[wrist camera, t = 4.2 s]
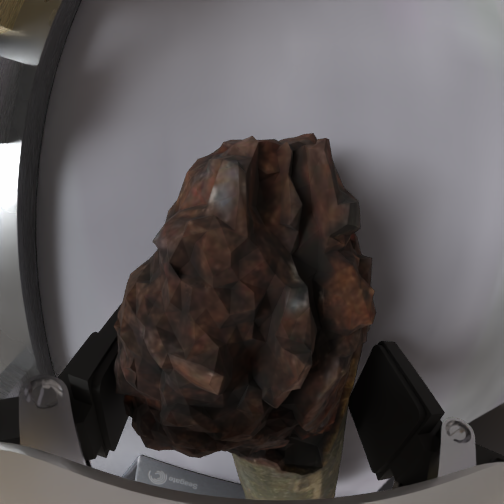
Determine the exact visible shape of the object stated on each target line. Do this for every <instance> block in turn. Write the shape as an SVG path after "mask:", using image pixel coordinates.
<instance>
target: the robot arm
mask: <svg viewBox="0 0 504 504" xmlns="http://www.w3.org/2000/svg"><path fill="white" fill-rule="evenodd" d="M121 305H122V304H121ZM121 305H120V306H119V307H118V309H117V310H116V311H115V312H114V314H113V315H112V316H111V317H110V319H109V320H108V321H107V323H106V324H105V325H104V326H103V328H102V329H101V330H100V331H99V333H97V332H93V333H92V334H91V335H90V336H89V338H88V339H87V340H86V342H85V343H84V344H83V345H82V347H81V348H80V349H79V350H78V352H77V353H76V354H75V356H74V357H73V358H72V360H71V361H70V362H69V364H68V365H67V366H66V368H65V369H64V370H63V372H62V373H61V374H60V376H59V377H58V378H57V377H55V376H52V375H46V374H41V375H35V376H32V377H30V378H28V379H27V380H26V381H24V382H23V384H22V385H21V387H20V391H19V396H18V397H12V398H6V399H0V504H504V456H502V455H501V454H498V453H496V452H494V451H491V450H489V449H486V448H484V447H482V446H480V445H477V444H475V436H474V432H473V430H472V428H471V427H470V425H468V423H466V422H465V421H463V420H461V419H459V418H454V417H452V418H447V419H445V420H444V421H443V423H442V421H441V420H440V419H441V417H442V416H443V415H444V413H445V412H444V411H443V409H442V408H441V406H440V405H439V403H438V402H437V400H436V399H435V398H434V396H433V395H432V393H431V392H430V390H429V389H428V387H427V386H426V384H425V383H424V382H423V380H422V379H421V377H420V376H419V375H418V373H417V372H416V370H415V369H414V367H413V366H412V365H411V363H410V362H409V361H408V359H407V358H406V356H405V355H404V354H403V352H402V351H401V350H400V348H399V347H398V345H397V344H396V343H395V342H386V341H381V342H379V343H378V344H377V345H375V346H374V347H373V349H372V351H371V353H370V356H369V358H368V360H367V362H366V364H365V366H364V368H363V371H362V373H361V375H360V377H359V379H358V381H357V383H356V385H355V387H354V389H353V391H352V393H351V395H350V397H349V403H348V407H349V409H350V412H351V415H352V417H353V420H354V423H355V426H356V428H357V431H358V434H359V437H360V439H361V442H362V445H363V448H364V450H365V453H366V456H367V459H368V462H369V464H370V467H371V470H372V472H373V473H376V476H377V479H378V480H383V479H389V478H391V477H392V476H394V478H395V480H394V484H393V487H392V489H390V490H384V491H379V492H373V493H367V494H360V495H353V496H345V497H336V498H325V499H309V500H254V499H238V498H226V497H217V496H209V495H202V494H195V493H189V492H183V491H178V490H172V489H168V488H163V487H158V486H154V485H150V484H146V483H142V482H138V481H134V480H130V479H126V478H123V477H119V476H116V475H113V474H110V473H106V472H103V471H100V470H97V469H94V468H93V467H92V464H91V461H90V460H92V459H95V458H96V456H97V455H99V456H102V457H105V458H107V455H108V452H109V450H111V451H115V449H116V447H117V444H118V442H119V439H120V436H121V434H122V431H123V429H124V426H125V424H126V421H127V419H128V416H129V415H127V414H126V411H125V407H124V403H123V402H124V395H123V394H116V393H115V392H116V379H115V374H114V365H115V360H116V358H117V353H118V352H117V350H118V336H117V331H116V329H115V328H114V324H115V323H116V321H117V320H118V312H119V310H120V307H121Z"/></svg>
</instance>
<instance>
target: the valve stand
mask: <svg viewBox="0 0 504 504" xmlns="http://www.w3.org/2000/svg"><path fill="white" fill-rule="evenodd" d="M80 2H81V0H0V399H6V398H12V397H18V396H19V391H20V387H21V385H22V384H23V382H24V381H26V380H27V379H28V378H30V377H32V376H35V375H41V374H46V375H52V376H54V372H53V368H52V364H51V359H50V355H49V350H48V345H47V340H46V335H45V329H44V323H43V317H42V310H41V303H40V295H39V285H38V274H37V260H36V191H37V176H38V165H39V156H40V148H41V141H42V134H43V128H44V122H45V116H46V111H47V106H48V101H49V97H50V92H51V88H52V84H53V80H54V76H55V73H56V69H57V66H58V62H59V59H60V56H61V52H62V49H63V46H64V43H65V40H66V37H67V35H68V32H69V29H70V26H71V24H72V21H73V19H74V16H75V14H76V11H77V9H78V6H79V4H80Z"/></svg>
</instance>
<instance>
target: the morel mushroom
mask: <svg viewBox="0 0 504 504" xmlns="http://www.w3.org/2000/svg"><path fill="white" fill-rule="evenodd" d="M359 229H360V210H359V202H358V200H357V199H356V198H354V197H353V196H352V195H351V194H350V193H349V192H348V191H347V190H346V189H345V188H344V186H343V184H342V182H341V179H340V177H339V175H338V173H337V171H336V168H335V166H334V163H333V160H332V155H331V148H330V142H329V139H327V138H324V139H316V137H315V135H314V133H311V134H304V135H301V136H298V137H294V138H287V139H283V140H280V141H277V140H275V139H270V140H256V139H255V138H254V137H253V136H251V137H249V138H246V139H244V140H229V141H226V142H223V144H222V145H221V147H220V148H219V149H217V150H216V151H215V152H214V153H211V154H210V155H208V156H205V157H203V158H200V159H198V160H197V161H196V162H195V163H194V164H193V166H192V167H191V168H190V169H189V171H188V172H187V174H186V177H185V180H184V182H183V185H182V188H181V191H180V194H179V197H178V199H177V201H176V202H175V203H174V205H173V206H172V207H171V208H170V210H169V211H168V215H167V219H166V223H165V224H164V226H163V227H162V229H161V230H160V231H159V233H158V234H157V236H156V237H155V238H154V240H153V243H154V244H155V245H156V246H157V248H158V249H157V251H156V252H155V253H154V255H153V256H152V257H151V258H150V259H149V260H147V261H146V262H145V263H143V264H142V265H141V266H140V267H138V268H137V269H136V270H135V271H134V272H132V273H131V274H130V277H129V280H128V282H127V286H126V290H125V294H124V298H123V302H122V305H121V307H120V310H119V312H118V320H117V321H116V323H115V324H114V328H115V329H116V331H117V336H118V350H117V352H118V353H117V358H116V360H115V365H114V374H115V379H116V392H115V393H116V394H123V395H124V402H123V403H124V407H125V411H126V414H127V415H129V416H130V417H132V427H133V428H134V430H135V431H136V433H137V434H138V435H139V436H140V437H141V439H142V441H143V443H144V445H145V447H147V448H151V449H154V450H158V451H160V450H176V451H178V452H180V453H183V454H185V455H187V456H189V457H197V458H201V457H203V456H206V455H209V454H212V453H214V452H217V451H221V450H222V451H228V452H230V453H232V456H233V459H234V462H235V466H236V469H237V472H238V476H239V479H240V482H241V485H242V488H243V490H244V494H245V498H246V499H254V500H309V499H325V498H334V496H335V490H336V484H337V479H338V473H339V466H340V461H341V455H342V448H343V441H344V431H345V424H346V417H347V410H348V403H349V396H350V394H351V391H352V389H353V385H354V381H355V377H356V373H357V366H358V362H359V359H360V355H361V351H362V346H363V343H365V342H366V339H367V332H368V331H369V329H370V325H371V324H373V321H374V317H375V314H376V311H375V307H374V302H373V295H374V290H373V289H372V288H371V286H370V283H371V268H372V258H370V257H366V256H363V255H362V254H361V251H360V247H359V243H358V239H357V236H356V234H355V232H356V231H358V230H359Z"/></svg>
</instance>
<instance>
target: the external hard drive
mask: <svg viewBox="0 0 504 504" xmlns="http://www.w3.org/2000/svg"><path fill="white" fill-rule="evenodd" d="M122 477H123V478H126V479H130V480H134V481H138V482H142V483H146V484H150V485H154V486H158V487H163V488H168V489H172V490H178V491H183V492H189V493H195V494H202V495H209V496H217V497H226V498H238V499H246V498H245V494H244V490H243V488H242V485H240V484H236V483H232V482H228V481H225V480H220V479H216V478H213V477H208V476H205V475H202V474H198V473H195V472H191V471H188V470H185V469H182V468H179V467H176V466H173V465H170V464H166V463H163V462H160V461H157V460H155V459H152V458H149V457H146V456H143V455H140V456H138V457H137V459H136V460H135V461H134V463H133V464H132V465H131V466H130V467H129V469H128V470H127V471H126V472H125V474H123V476H122Z"/></svg>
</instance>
